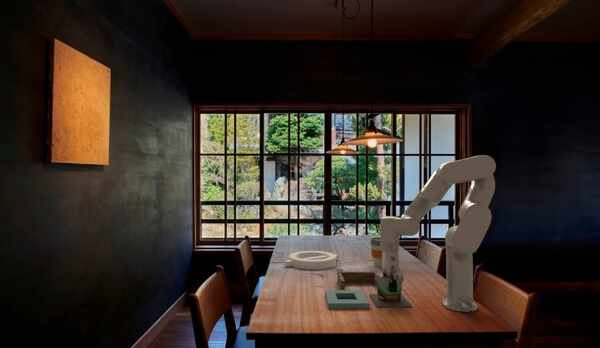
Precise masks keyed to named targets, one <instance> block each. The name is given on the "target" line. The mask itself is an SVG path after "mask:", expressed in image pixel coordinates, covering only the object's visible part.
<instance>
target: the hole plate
mask: <svg viewBox="0 0 600 348" xmlns="http://www.w3.org/2000/svg"><path fill="white" fill-rule="evenodd" d="M324 296H325V300H326V304H328V305H327V308H367V309H370V307H371V306H370V305H371V304H370V302H369V300H368V298H367V296H366V295H365V293H364V291H363V289H345V290H340V289H325V290H324Z"/></svg>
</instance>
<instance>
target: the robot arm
mask: <svg viewBox="0 0 600 348" xmlns="http://www.w3.org/2000/svg"><path fill="white" fill-rule="evenodd" d="M496 165H497V164H496V162H495V159H494V158H493V157H491V156H490V155H486V154H482V155H481V154H480V155H475V156H471V157H468V158H463V159H459V160H453V161H452V160H451V161H448V162H443V163H441V164H439V165H438V167H437V168H436V169H435V170H434V171H433V173H432V175H431V176H430V177H429V178H428V180H427V181H426V183H425V184H424V186H423V187H422V188H421V189H420V191H419V192H418V194H417V195H416V196H415V198H414V199H413V200H412V202H410V204H409V205H408V207H407V208H406V210H405V211H404V212H403V214H402V215H400V217H397V216H394V215H393V216H392V215H385V216H382V217H381V218H380V222H379V223H380V225H379V227H380V228H379V232H380V233H379V234H380V237H379V238H380V250H382V267H381V269H382V277H384V276H389V280H390V282H389V292H397V276H400V257H399V251H400V236H405V237H407V236H408V237H413V236H416V235H417V234H418V233H419V231H420V228H421V227H420V222H421V221H422V219H423V218H424V217H425V216H426V214H428V213H429V211H431V210H432V209H434V208H436V207H437V206H438V205H439V204H440V203H441V202H442V200H443V198H444V197H445V196H446V194H447V193H448V191H449V190H450V189H451V188H452V186H453V185H454V184H460V183H466V182H470V187H469V189H468V190H467V191H468V192H467V193H466V196H465V198H464V200H463V202H462V204H461V205H460V207H459V210H458V217H459V219H460V221H459V223H458V225H454V226H453V225H452V226H451V227H450V228H448V229H447V231H446V232H445V237H444V243H445V244H444V245H445V255H446V256H445V258H446V263H445V264H446V265H445V268H446V269H445V271H446V273H445V274H446V276H445V277H446V283H445V286H446V290H445V292H446V295H445V297H446V298H444V299H443V300H442V303H441V304H442V305H443V307H444V308H446V309H449V310H452V311H457V312H461V311H462V313H463V312H465V313H471V312H470V311H472V312H475V311H477V310H478V304H477V303H475V302H474V281H473V279H474V273H473V272H474V263H473V262H474V261H473V259H474V258H473V253H476V252H477V250H478V248H479V247H480V245H481V243H482V241H483V240H484V238H485V235H486V234H487V231H488V229H489V227H490V226H491V222H492V212H491V210H490V208H489V205H490V203H491V201H492V199H493V197H494V194H495V189H496V180H495V175H494V173H495V171H496V168H497V166H496ZM391 277H392V279H391Z"/></svg>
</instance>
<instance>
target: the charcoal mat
mask: <svg viewBox="0 0 600 348" xmlns="http://www.w3.org/2000/svg"><path fill="white" fill-rule="evenodd" d="M369 298H370V299H371V301H372V302H373V303H374V306H375V305H376V306H375V307H376V308H377V307H382V308H413V305H412V304H411V302H410V301H409V300H408V299H407V298H406V297H405V296H404V295H403V294H402V293H401V300H400V301H399V302H395V303H389V302H384V301H381V300H379V299H378V293H369Z"/></svg>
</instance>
